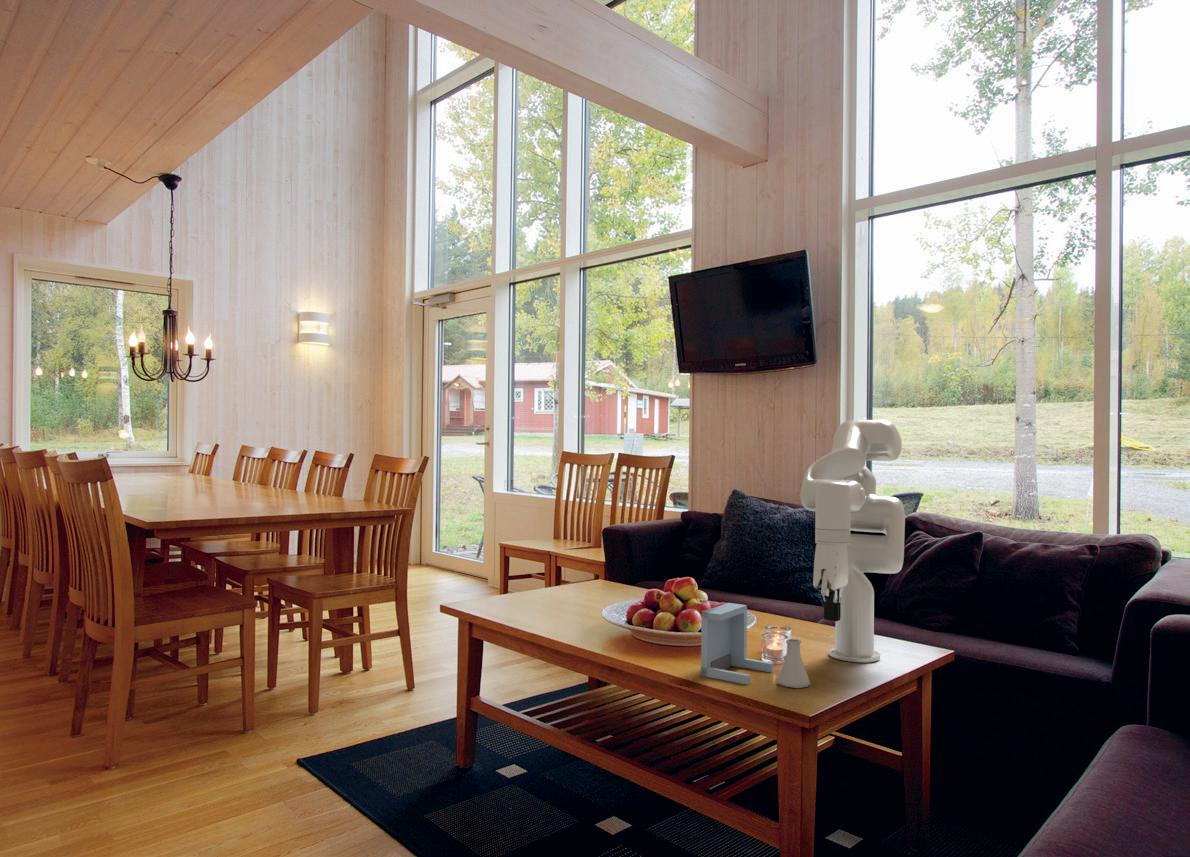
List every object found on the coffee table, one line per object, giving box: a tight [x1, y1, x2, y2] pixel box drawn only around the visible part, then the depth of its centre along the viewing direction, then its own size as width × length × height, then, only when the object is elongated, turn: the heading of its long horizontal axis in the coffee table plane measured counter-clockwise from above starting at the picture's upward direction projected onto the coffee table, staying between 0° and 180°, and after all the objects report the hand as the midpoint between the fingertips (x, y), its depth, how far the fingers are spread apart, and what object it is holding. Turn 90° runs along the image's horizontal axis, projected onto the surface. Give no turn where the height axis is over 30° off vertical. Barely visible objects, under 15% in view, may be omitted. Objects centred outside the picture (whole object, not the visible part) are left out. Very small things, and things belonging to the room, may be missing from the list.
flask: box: [776, 638, 811, 689], centre depth 185 cm, size 7×7×10 cm
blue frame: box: [700, 602, 774, 686], centre depth 194 cm, size 14×12×15 cm
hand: (832, 619), depth 180 cm, fingers closed
